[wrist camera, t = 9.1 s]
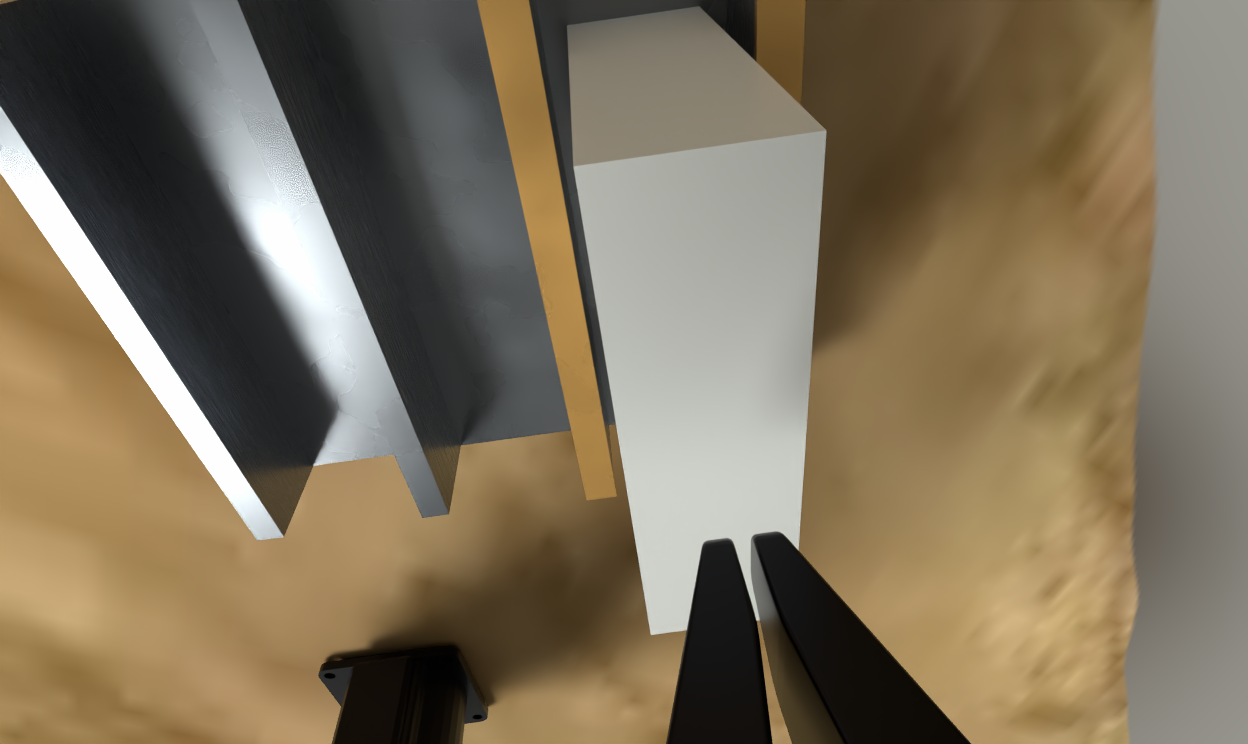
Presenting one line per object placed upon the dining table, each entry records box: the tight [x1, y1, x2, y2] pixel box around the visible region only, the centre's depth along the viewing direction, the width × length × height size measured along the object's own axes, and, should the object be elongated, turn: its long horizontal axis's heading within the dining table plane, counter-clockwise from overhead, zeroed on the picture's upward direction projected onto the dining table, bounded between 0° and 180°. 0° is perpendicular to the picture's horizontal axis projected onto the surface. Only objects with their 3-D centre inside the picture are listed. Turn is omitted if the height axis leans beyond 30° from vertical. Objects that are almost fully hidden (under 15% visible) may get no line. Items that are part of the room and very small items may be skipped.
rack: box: [0, 0, 806, 540], centre depth 17 cm, size 14×16×4 cm
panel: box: [567, 6, 827, 635], centre depth 14 cm, size 10×3×9 cm, turn 7°
